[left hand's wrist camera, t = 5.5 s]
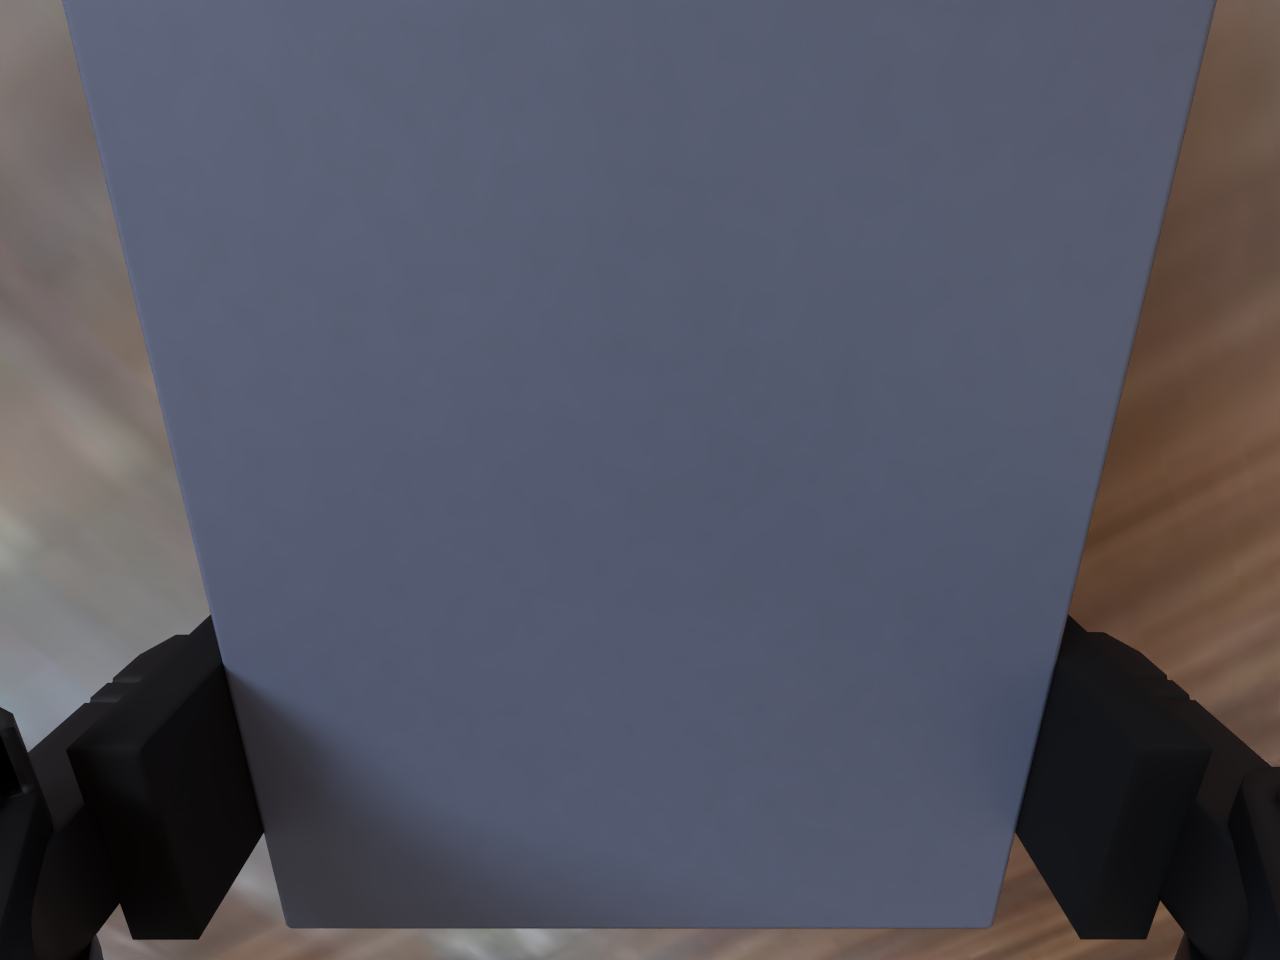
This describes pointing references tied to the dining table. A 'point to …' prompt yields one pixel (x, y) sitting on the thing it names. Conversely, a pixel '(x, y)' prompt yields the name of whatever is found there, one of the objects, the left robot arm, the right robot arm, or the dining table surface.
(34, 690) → the dining table surface
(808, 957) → the dining table surface
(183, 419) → the cabinet
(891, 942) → the dining table surface
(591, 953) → the dining table surface
